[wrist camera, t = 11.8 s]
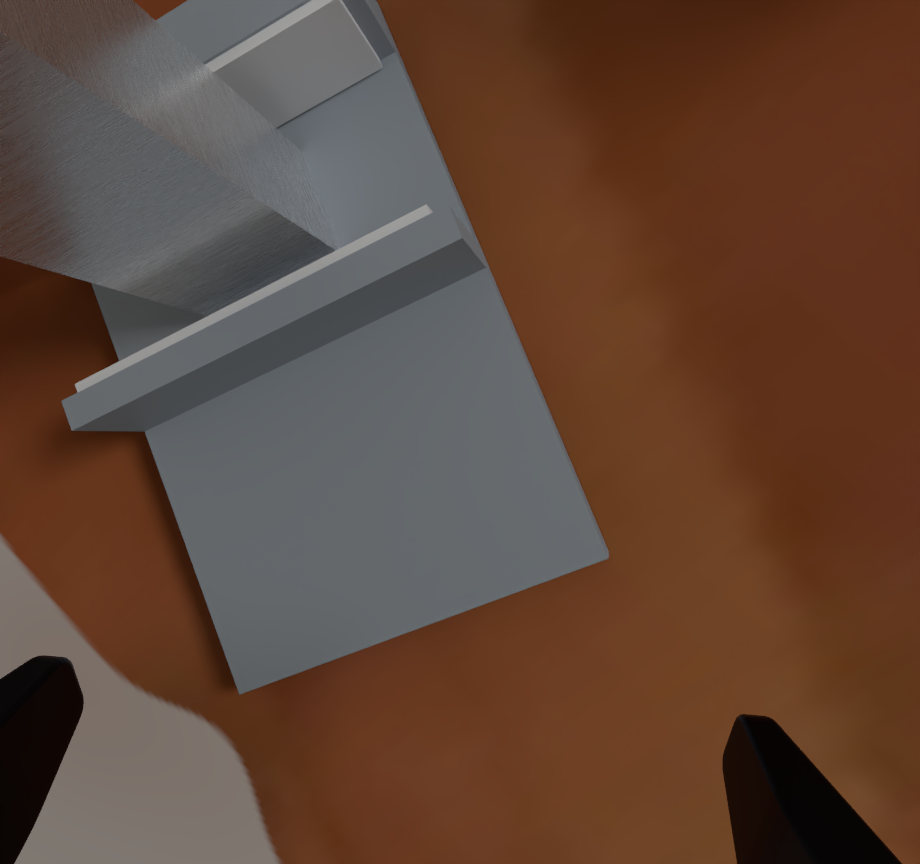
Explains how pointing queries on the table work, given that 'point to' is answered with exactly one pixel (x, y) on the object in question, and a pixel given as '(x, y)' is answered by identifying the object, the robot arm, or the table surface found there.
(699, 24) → the table surface
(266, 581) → the vise
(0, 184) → the aluminium bar
